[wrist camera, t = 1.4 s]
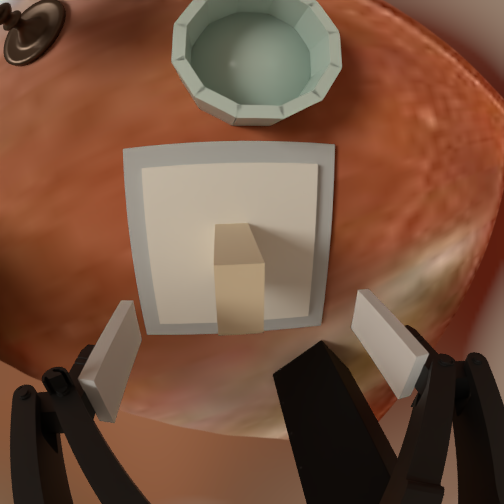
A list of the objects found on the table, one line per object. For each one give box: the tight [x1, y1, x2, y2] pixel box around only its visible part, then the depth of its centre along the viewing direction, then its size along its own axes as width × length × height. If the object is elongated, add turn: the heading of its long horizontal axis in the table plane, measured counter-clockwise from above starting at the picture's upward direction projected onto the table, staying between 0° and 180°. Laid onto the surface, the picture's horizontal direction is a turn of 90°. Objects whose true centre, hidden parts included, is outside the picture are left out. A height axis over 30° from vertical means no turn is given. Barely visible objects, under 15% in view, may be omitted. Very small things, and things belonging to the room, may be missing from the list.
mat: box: [123, 141, 335, 335], centre depth 28 cm, size 20×20×1 cm
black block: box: [273, 341, 398, 504], centre depth 22 cm, size 8×8×28 cm
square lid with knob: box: [142, 162, 318, 336], centre depth 23 cm, size 16×16×11 cm
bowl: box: [172, 0, 342, 126], centre depth 20 cm, size 13×13×6 cm
